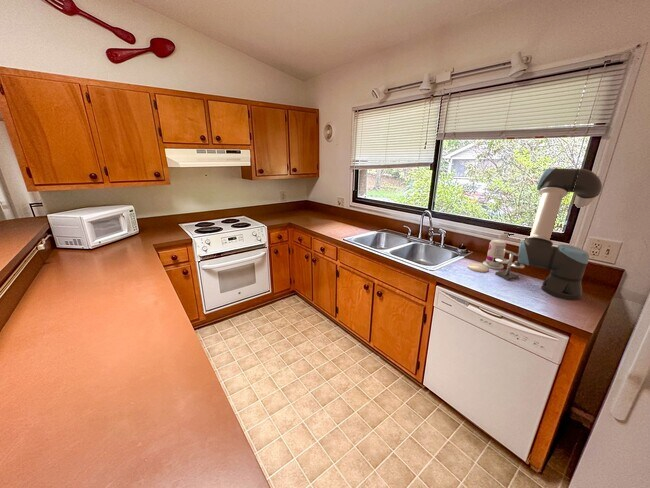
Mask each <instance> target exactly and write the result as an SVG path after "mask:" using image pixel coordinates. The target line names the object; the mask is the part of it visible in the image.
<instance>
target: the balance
mask: <svg viewBox="0 0 650 488" xmlns="http://www.w3.org/2000/svg"><path fill="white" fill-rule="evenodd" d="M506 253H507V254H509V259H508V258H505V254H506ZM518 254H519V253H516V252H513V251H510V250H507V249H505V250H504V255H503V258H496V259H495V261H497V262H499V263H502V264H504V265H505V264H507V266H506V270H502V271H501V270H500V271H496V272H495V274H494V275H495V276H496V277H499V278H501V279H504V280H506V281H513V280H518V279H520V275H518V274H515V273H513V272H511V268H515V269H525V264H522V263H520V262H519V261H518V260H514V256H516V257H518ZM513 260H514V262H513Z"/></svg>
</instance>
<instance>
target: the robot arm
mask: <svg viewBox="0 0 650 488" xmlns="http://www.w3.org/2000/svg"><path fill="white" fill-rule="evenodd" d="M536 186H537V187H536V190H537V191H538V193H539V195H540V200H539V202H538V203H539V204H538V206H537V210H536V213H535V216H534V220H533V223H532V226H531V229H530V231H531V232H530V236H528V237H526V238H525V240H520V241H519V246H518V253H517V254H518V256H517V261H519V262H520V263H521V264H523V265H524V266H525V265H527V266H531V267H535V268H540V269H545V270H549V271H550V272H549V275H548V276H547V277H546V279H545V280H544V281H543V282H542V285H541V290H542V291H543V292H544V293H546V294H549V296H553V297H556V298H560V299H564V300H572V301H577V300H581V299H582V295H583V288H582V280H583V277H584V274H585V271H586V268H587V265H588V263H589V260H590V255H589V253H588V251H586V250H584V249H583V248H579V247H576V246H573V245H569V244H558V245H557V246H554V243H553V240H550V238H551V235H552V231H553V228H554V225H555V221H556V218H557V214H558V213H559V211H560V207H561V203H562V200H563V198H564V197H566V196H568V193H574V194H575V198H574V201H573V204H575V206H576V207H577V208H581V207H584V206H587V205H589V204H590V203H591V202H592V201H593V200H594V199H596V197H598V196H599V195H600V194H601V192H602V189H603V184H602V181H601V179H600V177H599V176H598V175H597V174H596V173H595V172H593V171H591V170H589V169H586V168H557V167H555V168H553V167H552V168H546V169H545V170H544V171H543V172H542V174H541V175H540V177H539V179H538V183H537V185H536ZM594 201H595V200H594ZM509 233H510V232H503V233H499V235H498V240H502V239H508V238H509V237H508V235H509V236H510V235H514V234H509ZM509 239H510V238H509Z"/></svg>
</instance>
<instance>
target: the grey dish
mask: <svg viewBox="0 0 650 488" xmlns="http://www.w3.org/2000/svg"><path fill="white" fill-rule="evenodd" d="M482 265H484V266H487V267H488V268H489V269H491V270H503V269H504V265H503V263H502V264H501V265H500V266H498V267H496V266H490V265H488V264H487V263H486V260H484V261H482Z"/></svg>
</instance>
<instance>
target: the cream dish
mask: <svg viewBox="0 0 650 488" xmlns="http://www.w3.org/2000/svg"><path fill="white" fill-rule="evenodd" d="M467 269H469V270H471V271H473V272H477V273H487V272H489V269H490V268H488V267H487V266H484V265H483V264H482V263H473V262H472V263H468V264H467Z"/></svg>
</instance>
